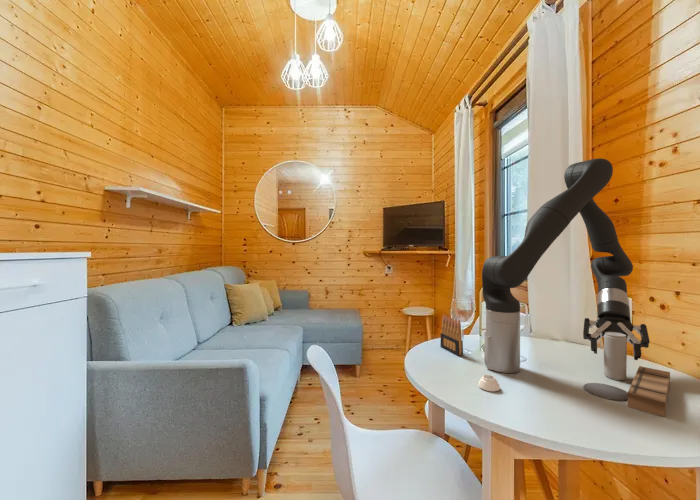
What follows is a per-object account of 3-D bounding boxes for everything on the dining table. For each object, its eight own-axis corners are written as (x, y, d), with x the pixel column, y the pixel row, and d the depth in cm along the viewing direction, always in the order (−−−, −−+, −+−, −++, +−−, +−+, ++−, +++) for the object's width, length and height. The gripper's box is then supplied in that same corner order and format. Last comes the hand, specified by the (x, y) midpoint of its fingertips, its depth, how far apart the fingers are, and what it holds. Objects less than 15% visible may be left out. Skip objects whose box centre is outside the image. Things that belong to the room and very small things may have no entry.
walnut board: (664, 416, 67) (664, 402, 67) (627, 406, 72) (627, 392, 72) (669, 383, 84) (670, 371, 84) (639, 376, 88) (639, 365, 88)
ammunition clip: (463, 356, 105) (463, 319, 105) (458, 356, 105) (458, 320, 105) (444, 346, 116) (444, 313, 115) (440, 346, 115) (440, 313, 115)
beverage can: (599, 374, 90) (599, 331, 90) (615, 373, 90) (615, 331, 90) (614, 381, 85) (615, 336, 85) (631, 380, 85) (631, 336, 85)
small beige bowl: (481, 382, 85) (475, 389, 81) (482, 371, 85) (475, 377, 81) (502, 387, 82) (496, 394, 78) (502, 376, 82) (496, 382, 78)
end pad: (594, 398, 76) (594, 396, 76) (577, 382, 84) (577, 381, 84) (639, 402, 73) (639, 401, 73) (617, 386, 82) (617, 384, 82)
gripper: (583, 297, 98) (582, 343, 89) (646, 301, 89) (652, 353, 80) (583, 311, 102) (583, 357, 93) (643, 317, 94) (649, 368, 85)
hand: (615, 355), depth 87 cm, fingers open, 8 cm apart
